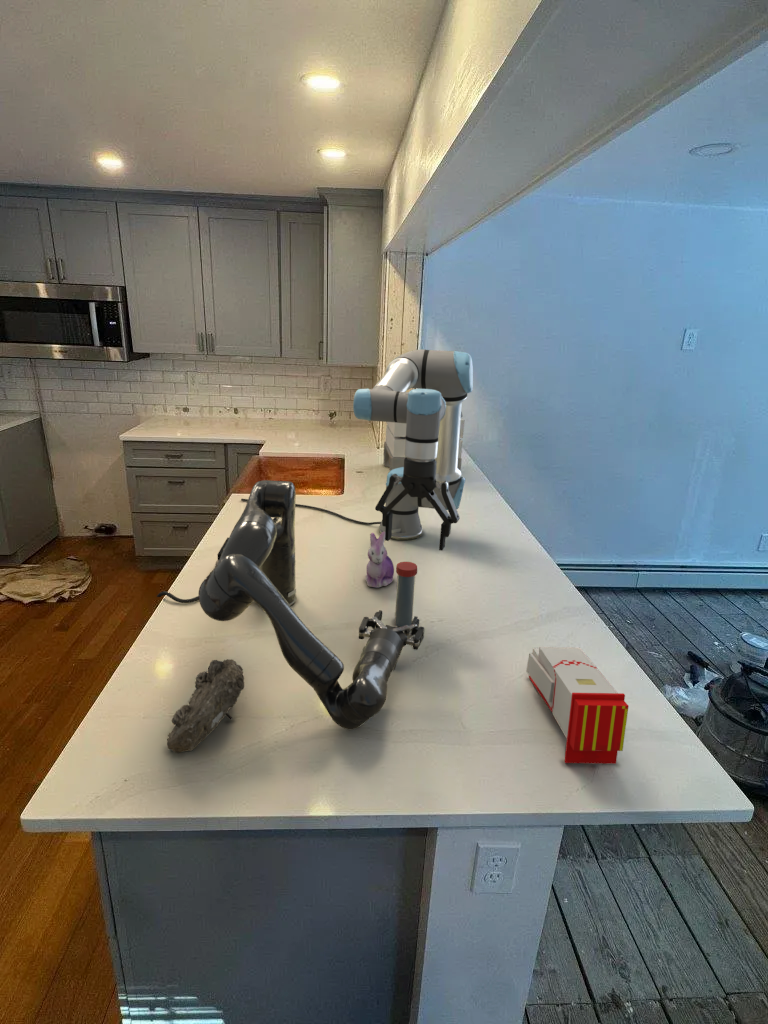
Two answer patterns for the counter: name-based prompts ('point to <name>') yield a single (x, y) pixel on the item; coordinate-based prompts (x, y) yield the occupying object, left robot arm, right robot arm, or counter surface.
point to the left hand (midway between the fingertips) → (398, 616)
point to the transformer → (396, 444)
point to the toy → (580, 703)
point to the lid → (406, 569)
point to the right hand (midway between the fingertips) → (414, 543)
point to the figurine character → (221, 551)
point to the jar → (404, 600)
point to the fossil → (206, 705)
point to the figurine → (378, 563)
